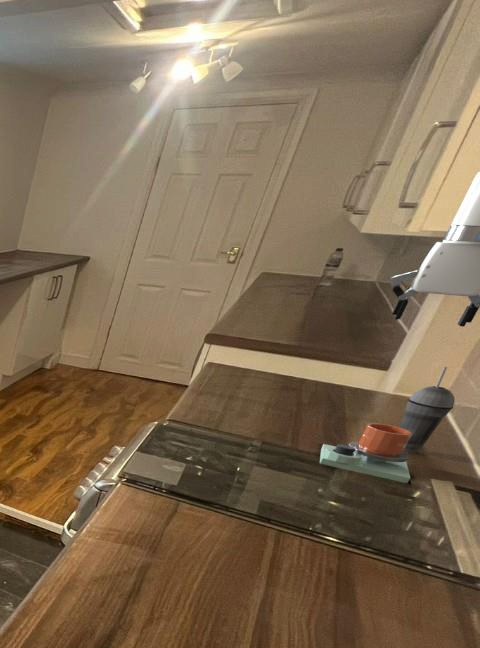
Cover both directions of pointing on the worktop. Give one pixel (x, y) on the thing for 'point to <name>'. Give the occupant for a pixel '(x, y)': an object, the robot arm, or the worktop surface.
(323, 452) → the scale
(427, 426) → the beverage cup
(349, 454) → the tare button
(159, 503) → the worktop surface
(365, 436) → the bowl
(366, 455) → the scale pan
